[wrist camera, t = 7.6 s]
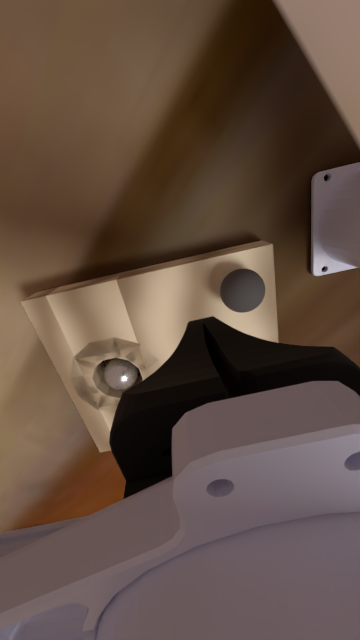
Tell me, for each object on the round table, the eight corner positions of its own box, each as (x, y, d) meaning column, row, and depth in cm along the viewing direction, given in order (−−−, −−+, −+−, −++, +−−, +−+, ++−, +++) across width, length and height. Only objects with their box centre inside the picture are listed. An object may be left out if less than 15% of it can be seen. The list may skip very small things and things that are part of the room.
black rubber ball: (255, 260, 18) (270, 269, 15) (258, 299, 20) (273, 314, 17) (213, 269, 19) (221, 280, 16) (219, 307, 20) (228, 323, 17)
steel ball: (118, 347, 25) (136, 352, 23) (131, 372, 26) (149, 378, 24) (92, 366, 23) (108, 373, 21) (107, 392, 24) (124, 401, 22)
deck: (261, 240, 20) (272, 244, 18) (273, 401, 28) (282, 418, 25) (36, 292, 21) (20, 301, 19) (105, 433, 29) (100, 452, 26)
